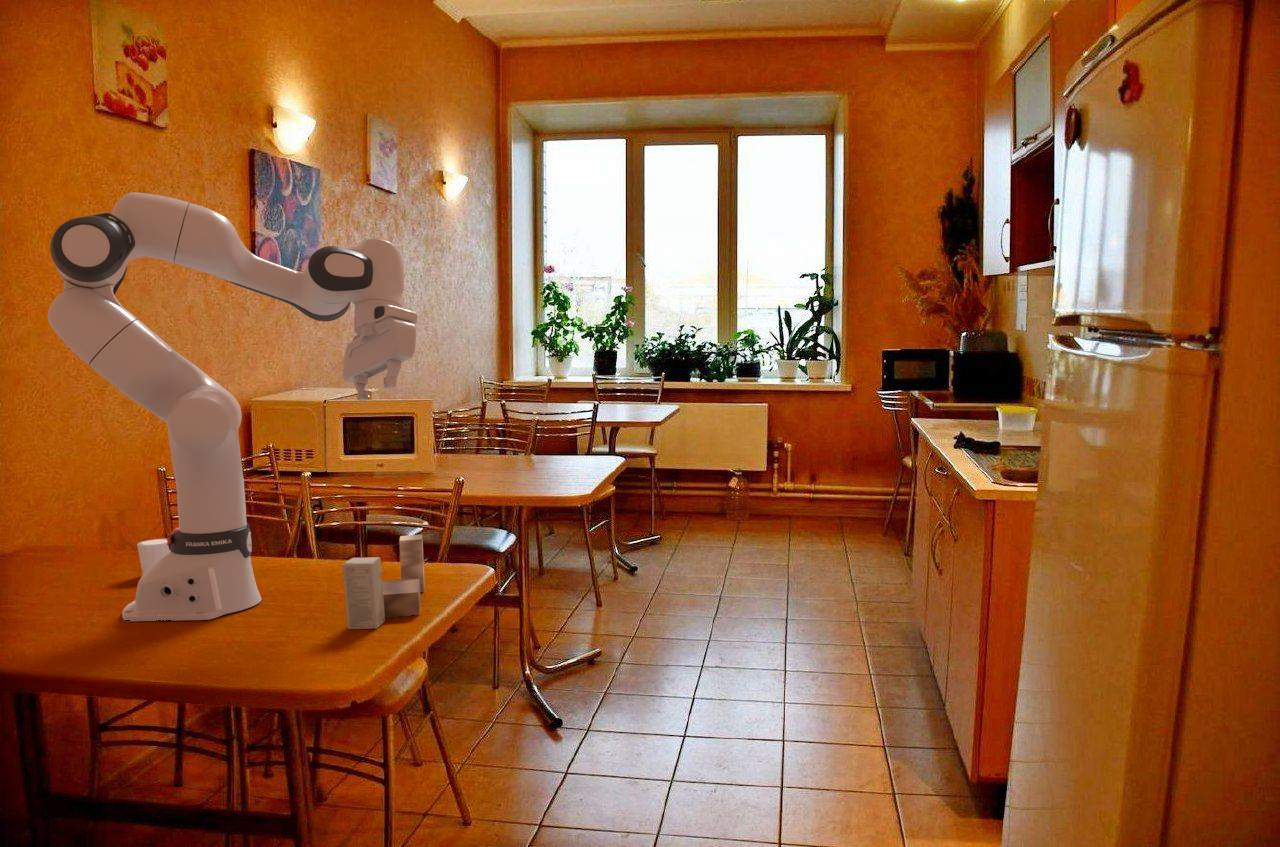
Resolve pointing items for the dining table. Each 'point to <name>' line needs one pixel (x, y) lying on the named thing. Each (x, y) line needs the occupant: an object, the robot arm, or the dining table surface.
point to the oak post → (412, 558)
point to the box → (364, 593)
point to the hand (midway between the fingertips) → (376, 393)
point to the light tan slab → (401, 597)
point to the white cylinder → (152, 552)
